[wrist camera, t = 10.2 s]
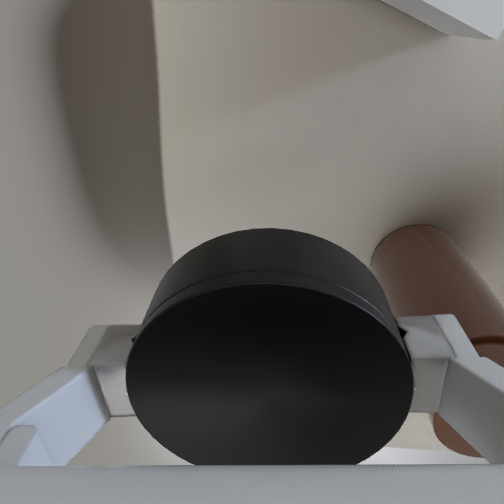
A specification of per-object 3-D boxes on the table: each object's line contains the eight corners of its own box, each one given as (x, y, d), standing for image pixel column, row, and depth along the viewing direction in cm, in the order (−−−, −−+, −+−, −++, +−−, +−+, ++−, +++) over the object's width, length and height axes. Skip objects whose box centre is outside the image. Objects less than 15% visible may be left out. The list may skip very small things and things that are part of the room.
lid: (105, 273, 11) (67, 333, 9) (353, 188, 9) (372, 238, 7) (212, 428, 14) (201, 499, 12) (413, 384, 12) (439, 457, 10)
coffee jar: (476, 255, 28) (604, 414, 17) (412, 309, 31) (487, 479, 20) (415, 207, 27) (511, 345, 16) (353, 268, 29) (397, 424, 18)
